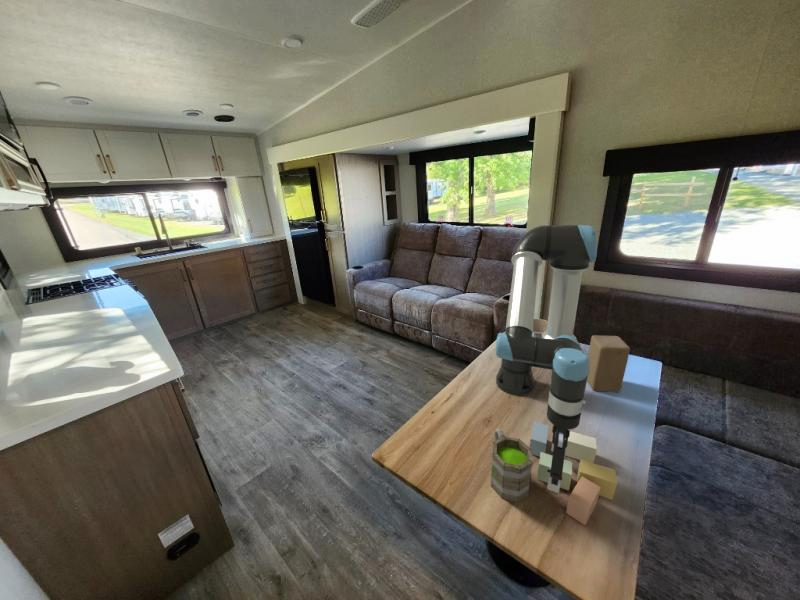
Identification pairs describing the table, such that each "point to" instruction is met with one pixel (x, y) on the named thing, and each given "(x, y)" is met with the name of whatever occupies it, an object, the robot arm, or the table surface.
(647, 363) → the table surface
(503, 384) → the robot arm
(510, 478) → the mug
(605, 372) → the wooden block
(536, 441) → the slate brick
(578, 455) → the cream brick
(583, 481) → the terracotta brick
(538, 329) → the planter
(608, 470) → the ochre brick
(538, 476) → the sage brick
